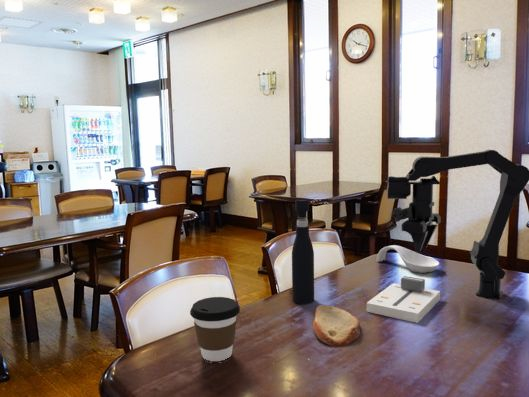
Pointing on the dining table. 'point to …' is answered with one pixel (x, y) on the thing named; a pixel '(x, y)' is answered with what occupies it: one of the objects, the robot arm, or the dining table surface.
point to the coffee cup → (215, 326)
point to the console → (403, 303)
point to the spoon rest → (411, 259)
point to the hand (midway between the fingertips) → (421, 250)
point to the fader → (412, 284)
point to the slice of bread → (335, 326)
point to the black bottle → (302, 258)
